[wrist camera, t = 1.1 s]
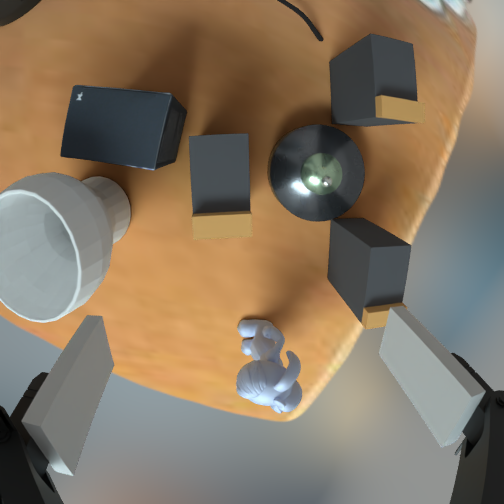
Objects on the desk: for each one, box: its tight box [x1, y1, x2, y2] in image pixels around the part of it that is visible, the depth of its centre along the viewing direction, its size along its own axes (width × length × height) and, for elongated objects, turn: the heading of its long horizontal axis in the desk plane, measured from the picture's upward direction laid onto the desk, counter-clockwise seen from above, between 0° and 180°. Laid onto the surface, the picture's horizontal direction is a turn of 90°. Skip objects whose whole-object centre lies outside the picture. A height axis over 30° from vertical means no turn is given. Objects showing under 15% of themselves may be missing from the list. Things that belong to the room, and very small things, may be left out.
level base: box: [268, 125, 365, 221], centre depth 30 cm, size 10×10×4 cm
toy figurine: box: [236, 319, 302, 413], centre depth 32 cm, size 7×6×12 cm
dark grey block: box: [328, 218, 411, 329], centre depth 29 cm, size 7×4×11 cm, turn 1°
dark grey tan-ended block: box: [329, 34, 425, 127], centre depth 24 cm, size 7×4×11 cm, turn 1°
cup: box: [0, 172, 131, 323], centre depth 24 cm, size 11×11×15 cm
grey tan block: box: [189, 133, 252, 240], centre depth 25 cm, size 7×4×11 cm, turn 1°
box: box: [61, 85, 187, 170], centre depth 24 cm, size 8×6×11 cm
